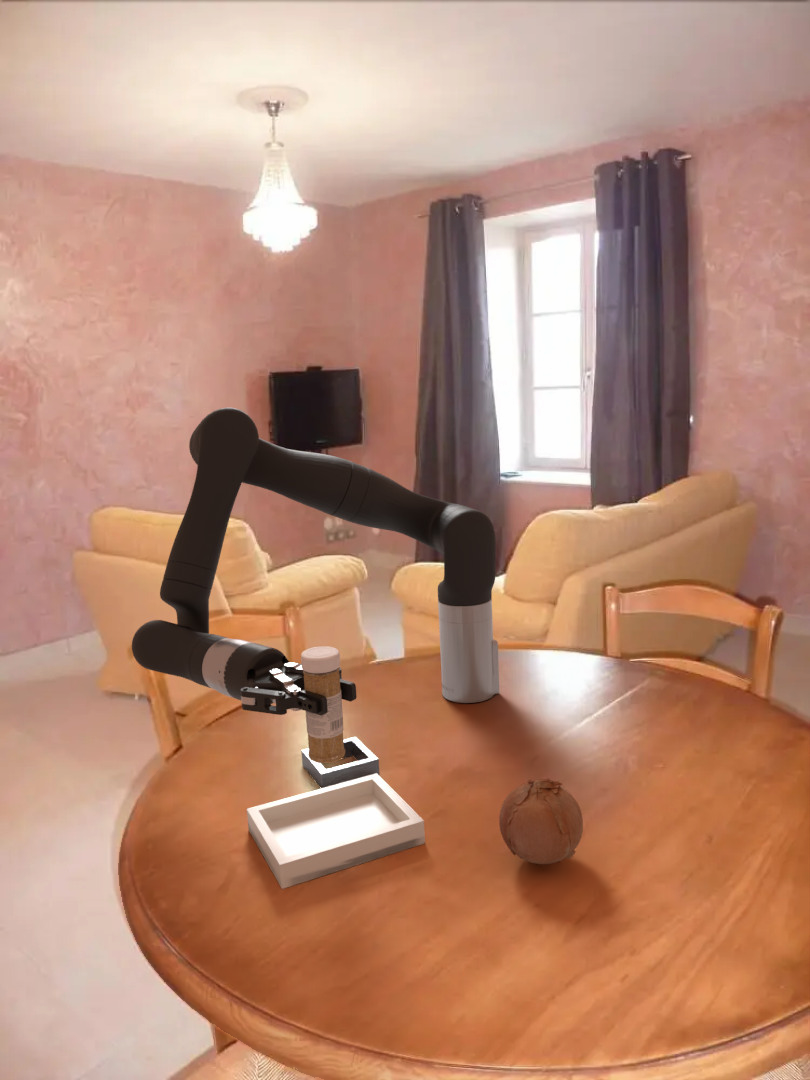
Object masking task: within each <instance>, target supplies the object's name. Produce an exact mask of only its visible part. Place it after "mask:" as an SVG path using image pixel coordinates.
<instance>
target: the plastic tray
mask: <svg viewBox="0 0 810 1080" xmlns="http://www.w3.org/2000/svg"><path fill="white" fill-rule="evenodd" d="M246 817H247V829H248V831H249V834H250V835H251V837H252V838H253V840H254V842H255V844H256V845H257V847H258V849H259V852H260V853H261V854H262V857H263V858H264V860H265V862H266V863H267V866H268V867H269V869H270V871H271V872H272V874H273V876H274V877H275V879H276V881H277V883H278V885H279V886H280V888H281V889H282V890H284V889H286V888H290V887H292V886H296V885H300V884H302V883H305V882H308V881H312V880H315V879H319V878H321V877H324V876H327V875H330V874H334V873H336V872H340V871H342V870H345V869H348V868H353V867H355V866H358V865H359V866H360V865H361V864H365V863H368V862H372V861H374V860H377V859H380V858H383V857H387V856H390V855H393V854H395V853H398V852H402V851H405V850H409V849H411V848H415V847H417V846H421V845H425V844H426V839H425V838H426V836H425V820H424V819H423V818H422V817H421V816H420V815H419V814H418V813H417V812H416V811H415V810H414V809H413V808H412V807H411V806H410V805H409V804H408V803H407V802H406V801H405V800H404V799H403V798H402V797H401V796H400V795H399V794H398V793H397V792H396V790H394V789H393V788H392V787H391V786H390V785H389V783H387V782H386V780H384V779H383V778H382V777H381V776H380V775H378V774H377V773H376V774H372V775H369V776H365V777H361V778H358V779H354V780H350V781H347V782H343V783H339V784H336V785H332V786H328V787H325V788H318V789H315V790H311V791H307V792H303V793H299V794H296V795H292V796H289V797H285V798H280V799H277V800H274V801H271V802H266V803H262V804H258V805H255V806H253V807H247V808H246Z"/></svg>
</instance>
